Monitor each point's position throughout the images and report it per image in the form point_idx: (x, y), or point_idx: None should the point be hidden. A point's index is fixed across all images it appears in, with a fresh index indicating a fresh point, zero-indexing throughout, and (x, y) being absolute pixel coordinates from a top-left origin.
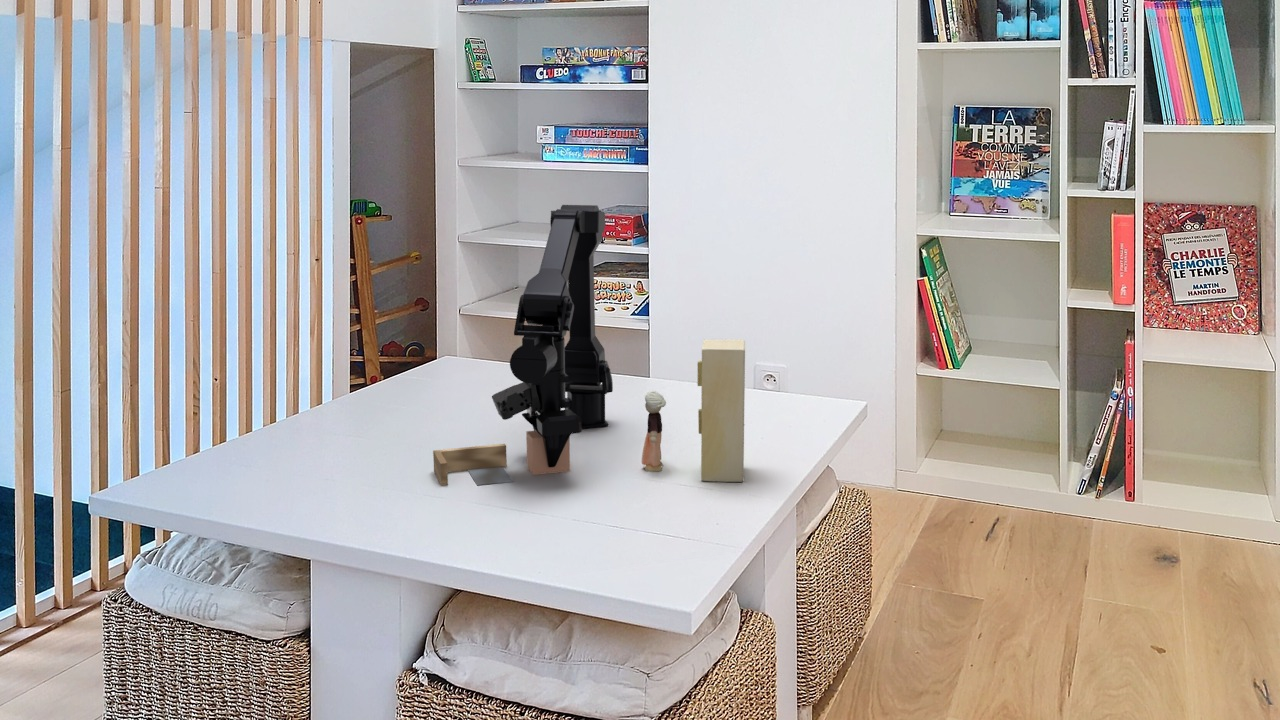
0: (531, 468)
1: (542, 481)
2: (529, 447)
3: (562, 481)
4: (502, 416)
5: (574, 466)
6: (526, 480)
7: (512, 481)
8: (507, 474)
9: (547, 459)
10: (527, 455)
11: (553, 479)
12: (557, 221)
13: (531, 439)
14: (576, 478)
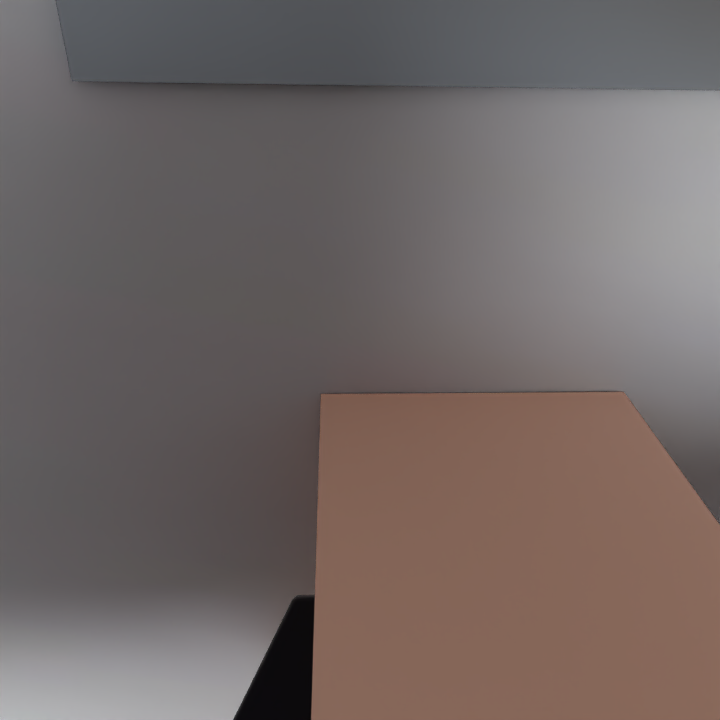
0: (403, 428)
1: (59, 434)
2: (584, 676)
3: (39, 583)
4: None
5: None
6: (125, 279)
7: (70, 66)
8: (427, 69)
9: (256, 682)
10: (668, 507)
11: (114, 533)
12: None
13: None
14: (113, 674)
